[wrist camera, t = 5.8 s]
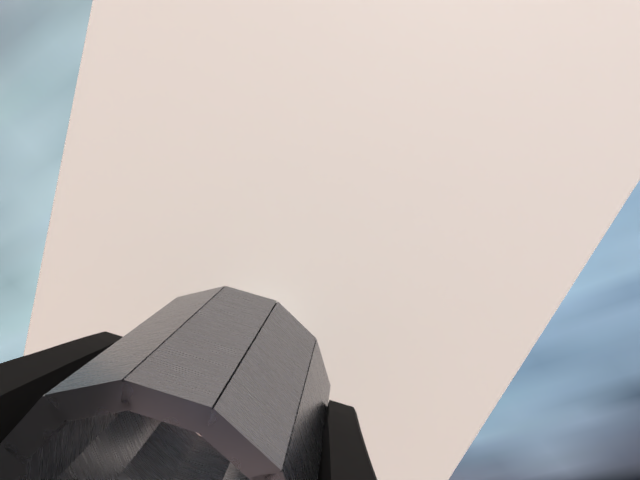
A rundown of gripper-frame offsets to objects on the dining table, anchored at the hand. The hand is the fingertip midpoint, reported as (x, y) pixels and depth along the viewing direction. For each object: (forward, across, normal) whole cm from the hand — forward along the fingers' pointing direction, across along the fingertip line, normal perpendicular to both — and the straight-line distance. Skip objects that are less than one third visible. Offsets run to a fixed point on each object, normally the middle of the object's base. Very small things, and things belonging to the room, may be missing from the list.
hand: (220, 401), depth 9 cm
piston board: (+4, -1, -7) cm, 8 cm away
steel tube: (+1, 0, 0) cm, 1 cm away
